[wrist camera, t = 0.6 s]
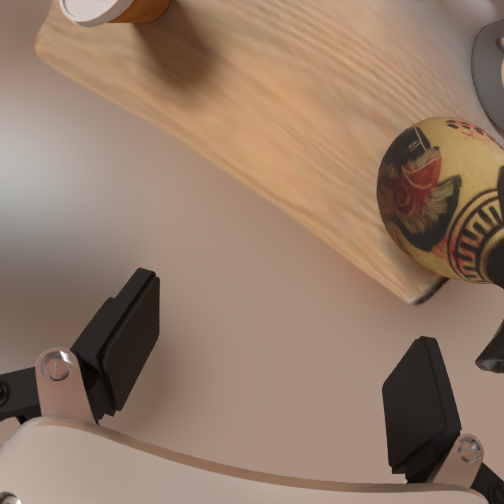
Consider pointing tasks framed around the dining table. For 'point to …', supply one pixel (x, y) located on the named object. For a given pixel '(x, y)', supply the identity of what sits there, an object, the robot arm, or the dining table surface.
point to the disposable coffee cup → (112, 11)
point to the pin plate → (489, 72)
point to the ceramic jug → (448, 206)
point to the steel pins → (500, 43)
